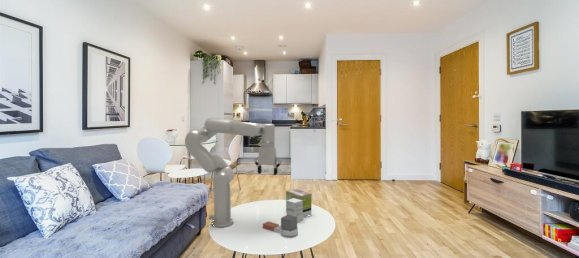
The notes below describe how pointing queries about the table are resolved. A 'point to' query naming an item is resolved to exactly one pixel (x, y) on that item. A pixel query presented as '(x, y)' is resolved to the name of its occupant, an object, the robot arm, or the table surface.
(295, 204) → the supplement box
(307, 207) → the tea box
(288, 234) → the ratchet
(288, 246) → the table surface
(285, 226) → the brushed grey cube
